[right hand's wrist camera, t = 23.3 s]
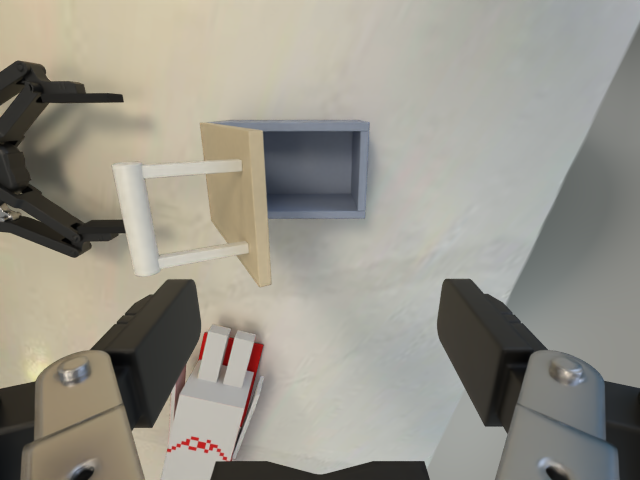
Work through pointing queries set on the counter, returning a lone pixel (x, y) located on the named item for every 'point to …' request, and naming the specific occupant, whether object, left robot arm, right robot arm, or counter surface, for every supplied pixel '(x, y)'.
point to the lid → (224, 200)
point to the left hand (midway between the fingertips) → (130, 166)
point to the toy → (212, 405)
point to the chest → (313, 167)
